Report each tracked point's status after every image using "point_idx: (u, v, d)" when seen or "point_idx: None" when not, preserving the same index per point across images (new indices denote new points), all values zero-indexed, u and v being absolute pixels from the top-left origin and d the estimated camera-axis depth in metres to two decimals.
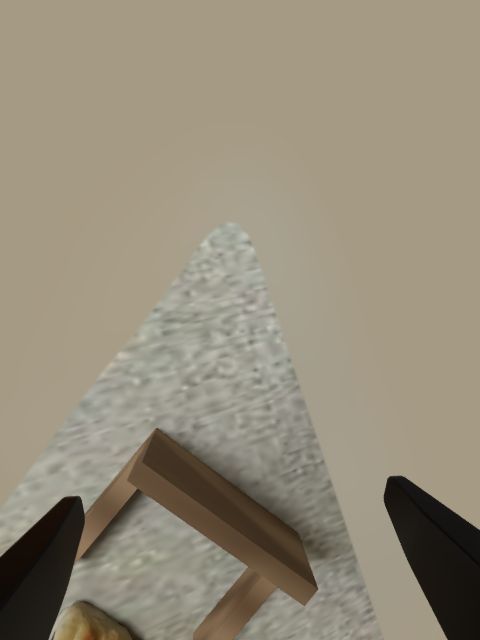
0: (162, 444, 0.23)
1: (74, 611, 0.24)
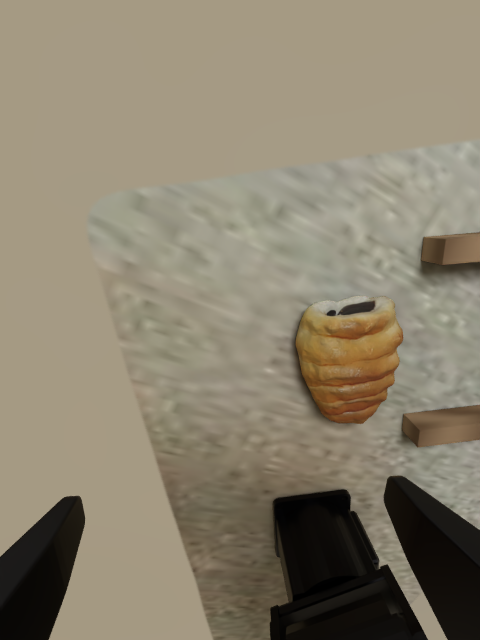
0: None
1: None
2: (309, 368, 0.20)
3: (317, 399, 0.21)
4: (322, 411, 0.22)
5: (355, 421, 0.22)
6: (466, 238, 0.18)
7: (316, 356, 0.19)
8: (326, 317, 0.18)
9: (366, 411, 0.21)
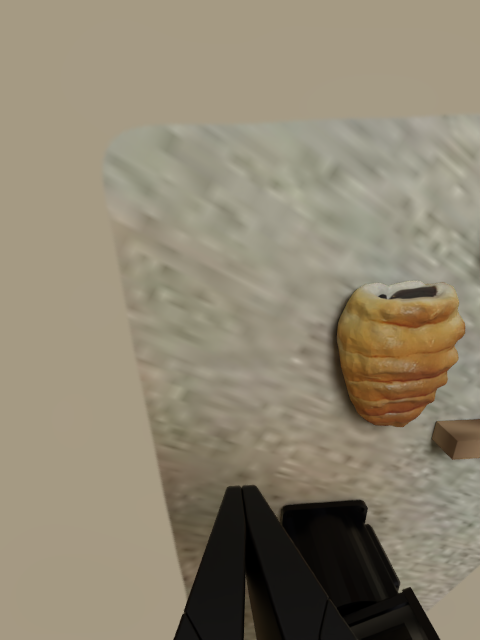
0: None
1: None
2: (353, 359, 0.17)
3: (356, 396, 0.19)
4: (359, 410, 0.19)
5: (395, 424, 0.19)
6: None
7: (365, 345, 0.16)
8: (383, 300, 0.16)
9: (411, 413, 0.18)
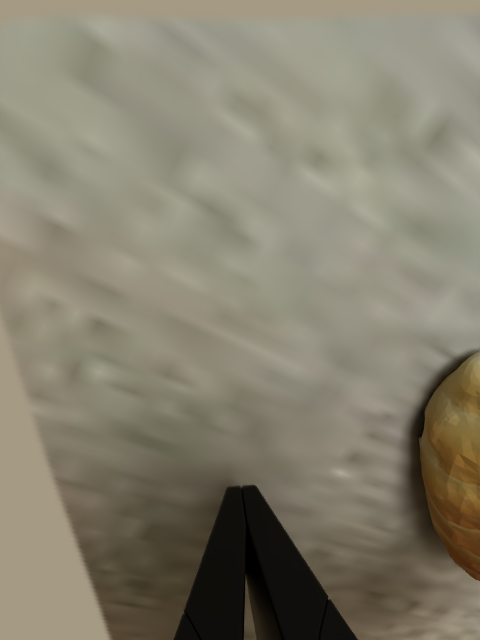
0: None
1: None
2: (464, 493, 0.09)
3: (458, 543, 0.10)
4: (458, 559, 0.11)
5: None
6: None
7: None
8: None
9: None
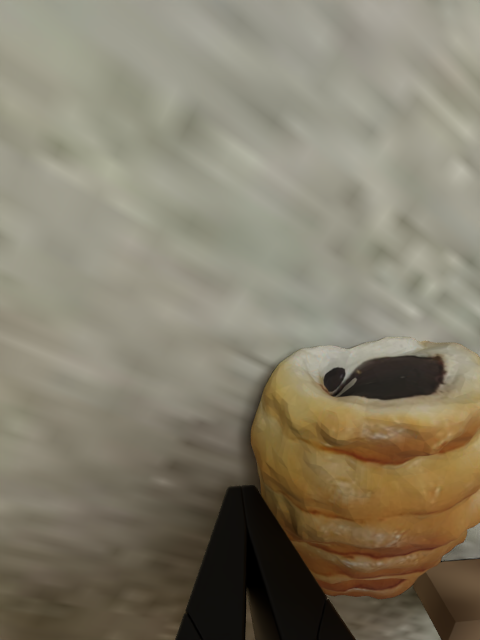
0: None
1: None
2: (277, 502, 0.09)
3: None
4: None
5: None
6: None
7: (293, 488, 0.08)
8: (324, 402, 0.07)
9: (398, 589, 0.10)
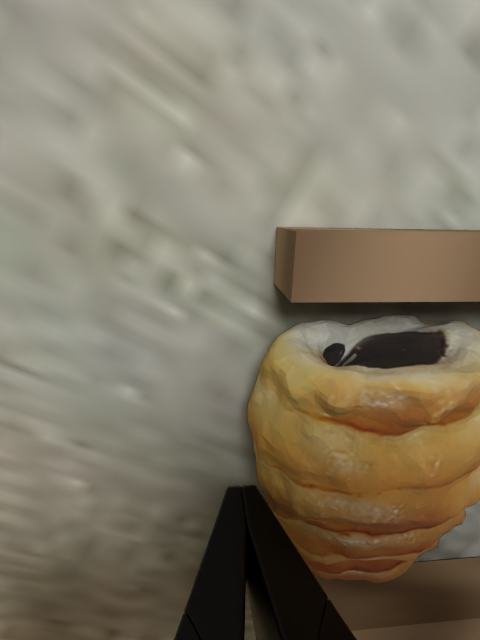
0: None
1: None
2: (272, 478, 0.08)
3: (288, 535, 0.10)
4: None
5: None
6: (357, 235, 0.06)
7: (290, 461, 0.08)
8: (323, 370, 0.07)
9: (394, 572, 0.09)
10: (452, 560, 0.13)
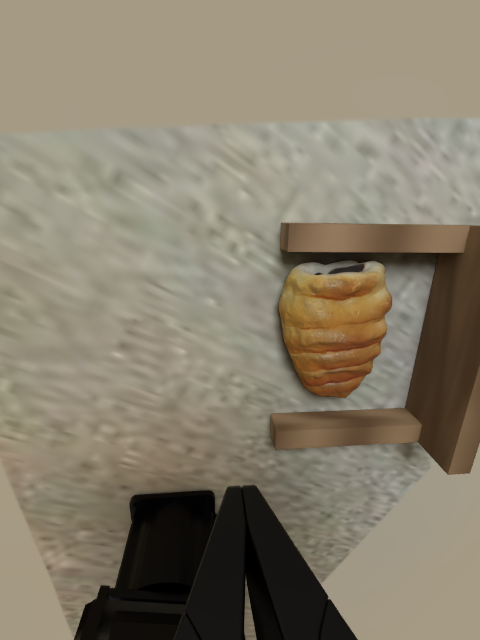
0: None
1: None
2: (291, 332, 0.19)
3: (298, 368, 0.20)
4: (303, 382, 0.21)
5: (337, 394, 0.21)
6: (312, 225, 0.17)
7: (299, 318, 0.18)
8: (311, 275, 0.17)
9: (349, 383, 0.20)
10: (379, 410, 0.24)
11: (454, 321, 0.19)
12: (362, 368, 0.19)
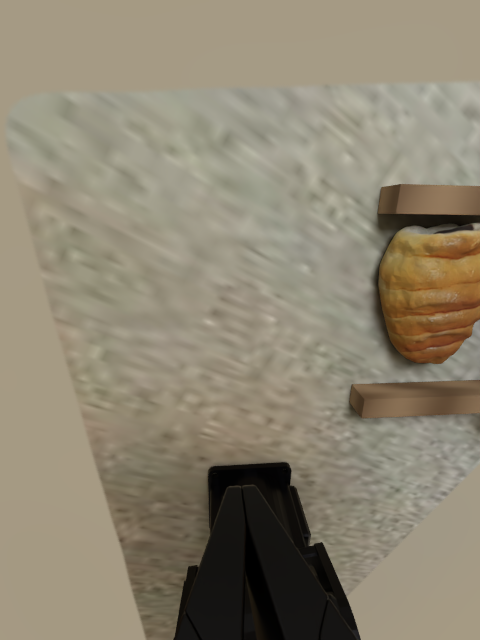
0: None
1: None
2: (397, 296, 0.19)
3: (399, 333, 0.20)
4: (401, 348, 0.21)
5: (434, 360, 0.21)
6: (422, 186, 0.17)
7: (409, 280, 0.18)
8: (426, 235, 0.17)
9: (451, 347, 0.20)
10: (457, 381, 0.24)
11: None
12: (466, 331, 0.19)
